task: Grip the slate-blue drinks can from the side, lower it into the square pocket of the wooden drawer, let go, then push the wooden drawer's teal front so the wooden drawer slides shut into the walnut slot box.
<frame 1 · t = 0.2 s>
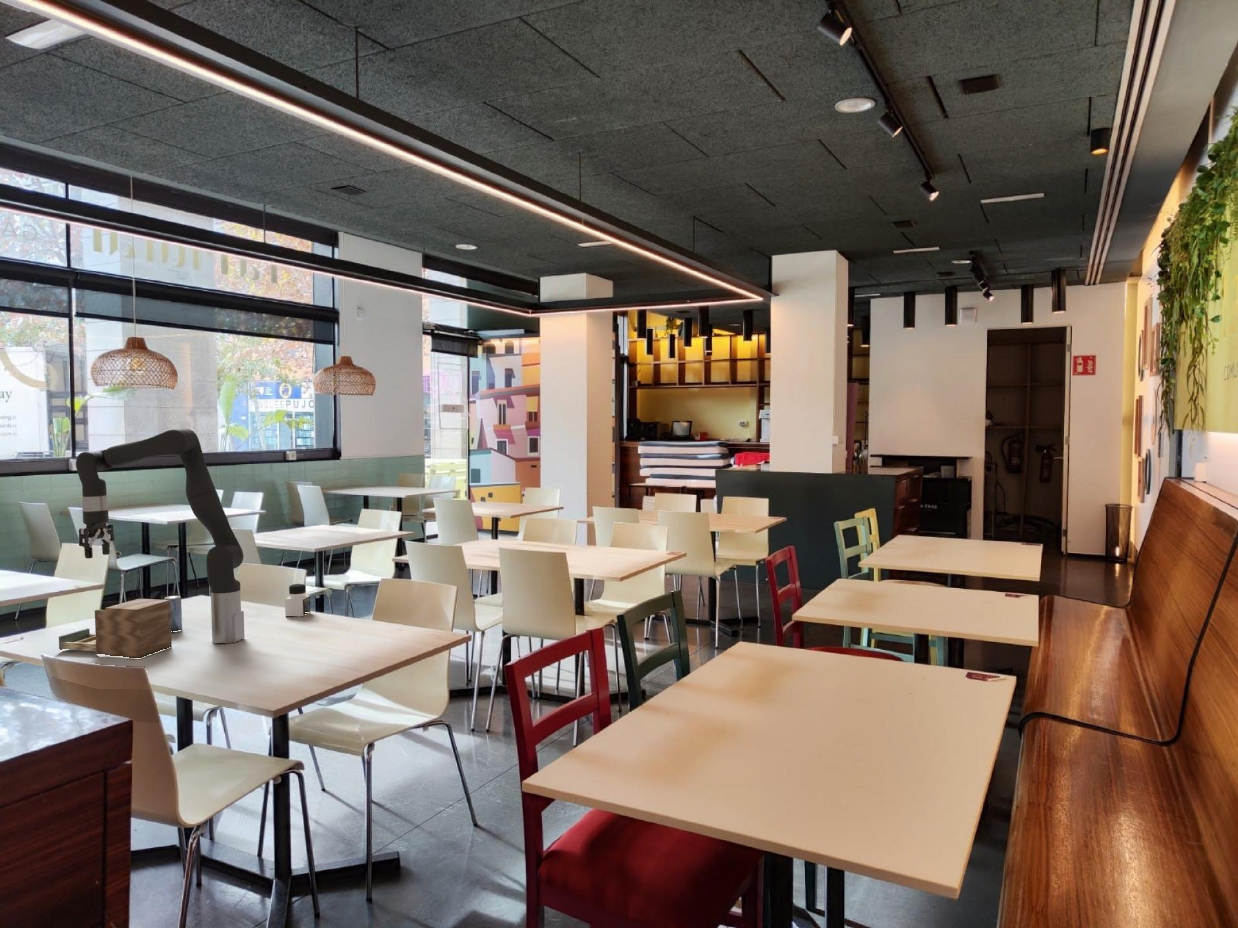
hand: (97, 556, 289), 29 cm above the table, tool pointing down, fingers open, 8 cm apart
medicine bottle: (298, 615, 326), on the table
walnut box: (134, 652, 275), on the table
can: (173, 631, 302), on the table
wooden drawer: (94, 641, 278), point 3 cm above the table, slide at 14.0 cm
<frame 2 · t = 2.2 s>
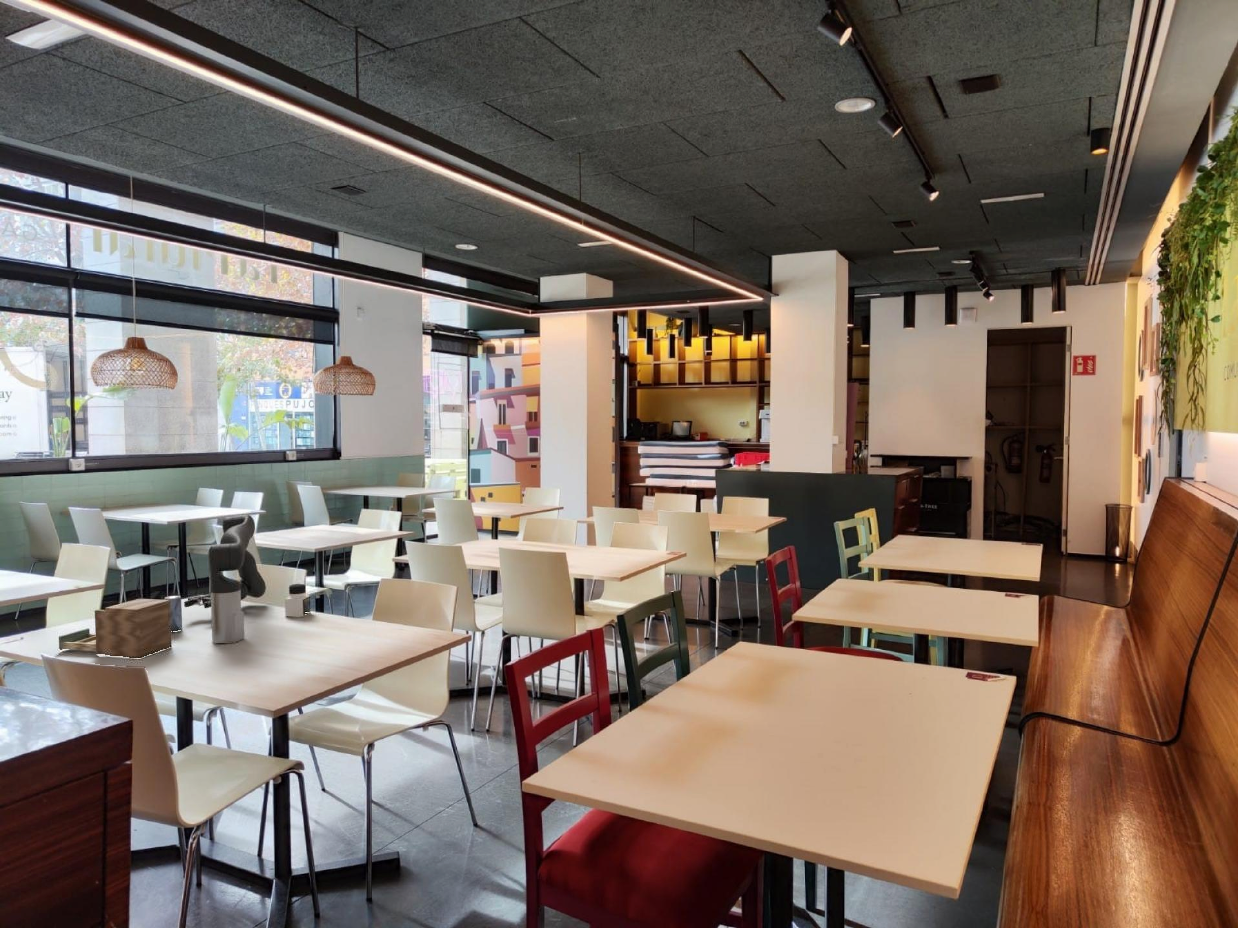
hand: (195, 604, 312), 7 cm above the table, tool horizontal, fingers open, 8 cm apart
nothing on the table moved.
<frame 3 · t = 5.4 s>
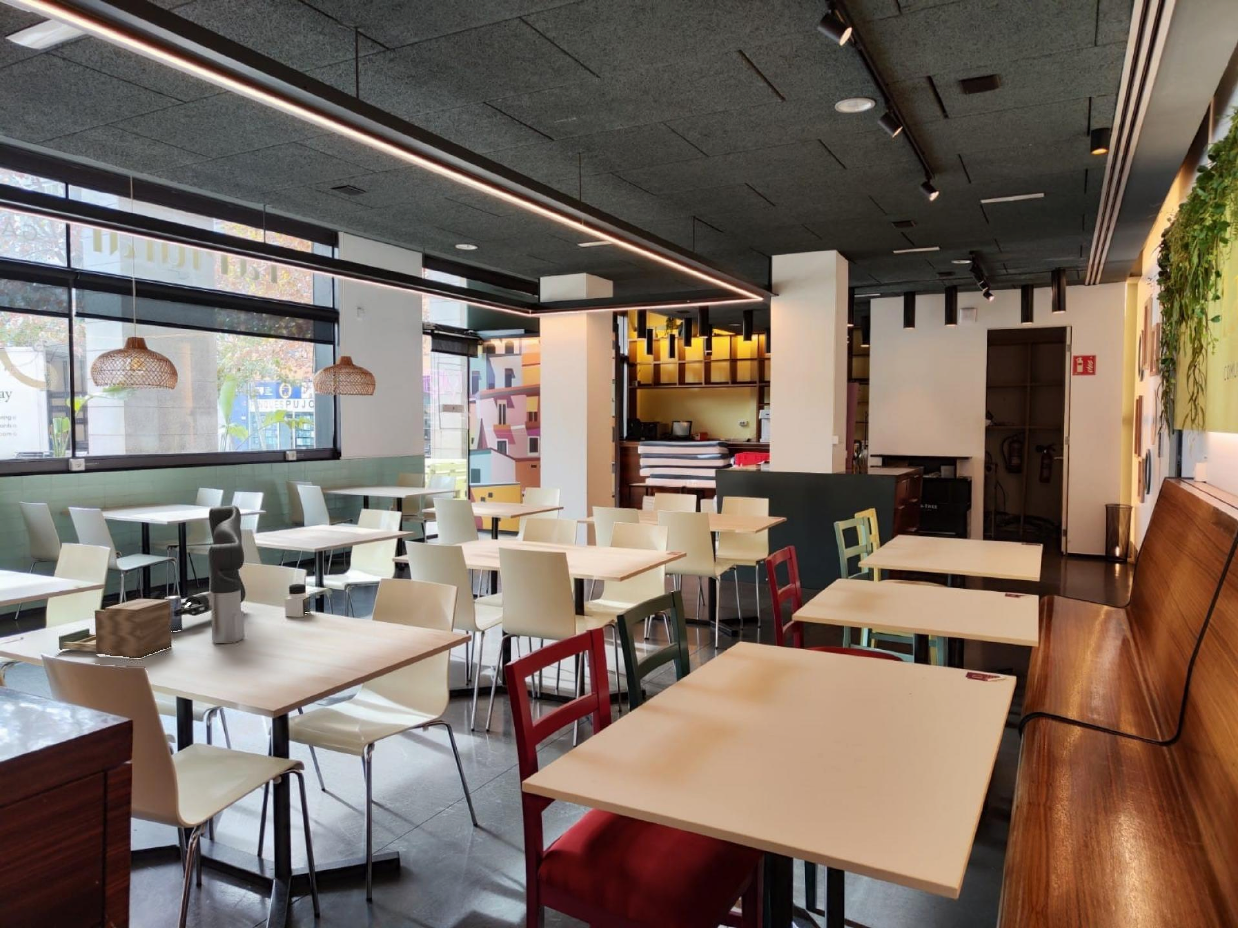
hand: (167, 613, 299), 7 cm above the table, tool horizontal, fingers closed on can, 5 cm apart
can: (173, 631, 302), on the table, touching gripper
everything else where it was.
when the fingers open (11 cm above the table, at t = 12.7 s): can drops 1 cm, resting on wooden drawer.
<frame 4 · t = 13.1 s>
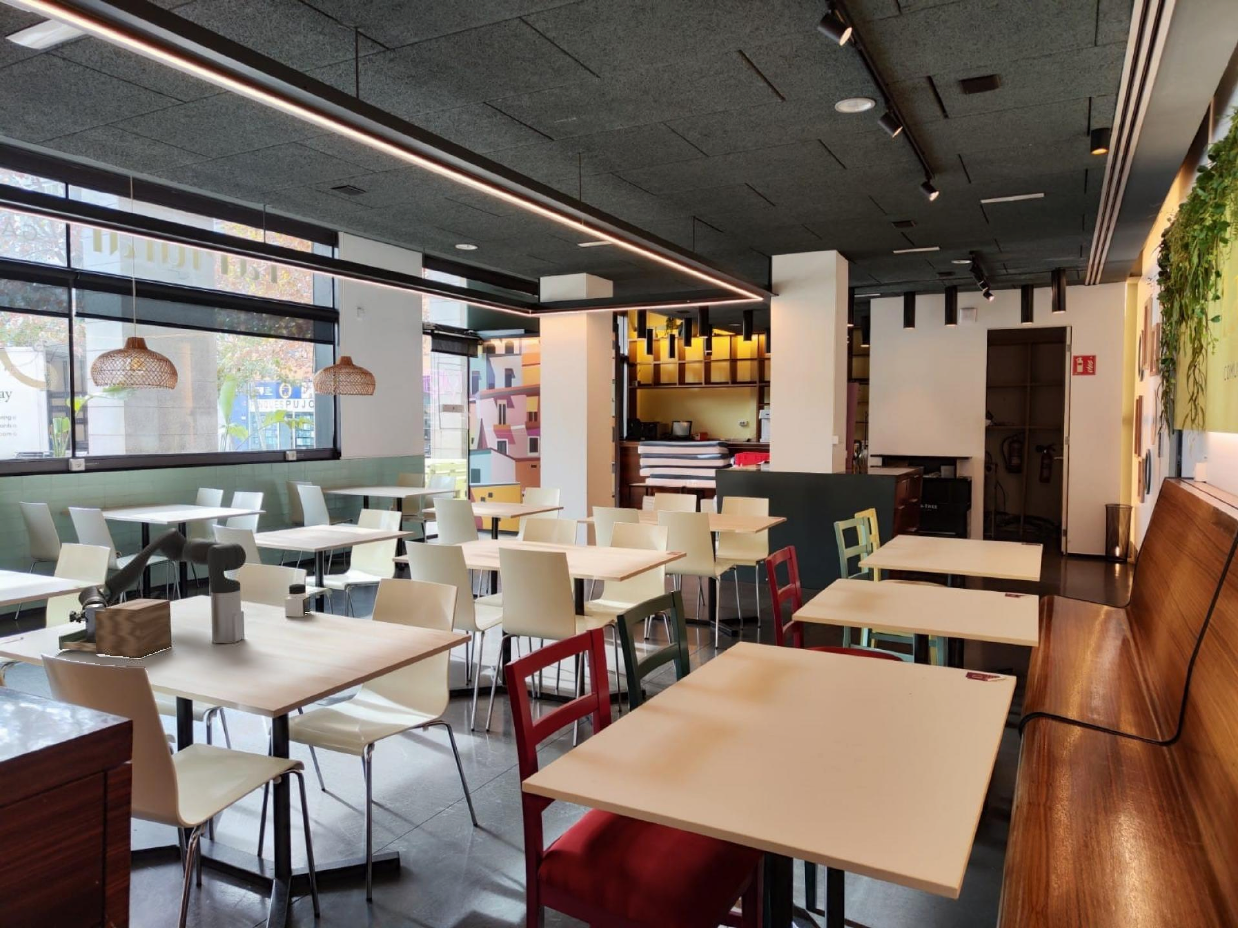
hand: (94, 618, 276), 11 cm above the table, tool horizontal, fingers open, 8 cm apart
can: (96, 642, 278), point 2 cm above the table, touching wooden drawer
wooden drawer: (94, 641, 278), point 3 cm above the table, slide at 14.0 cm, touching can
everything else where it was.
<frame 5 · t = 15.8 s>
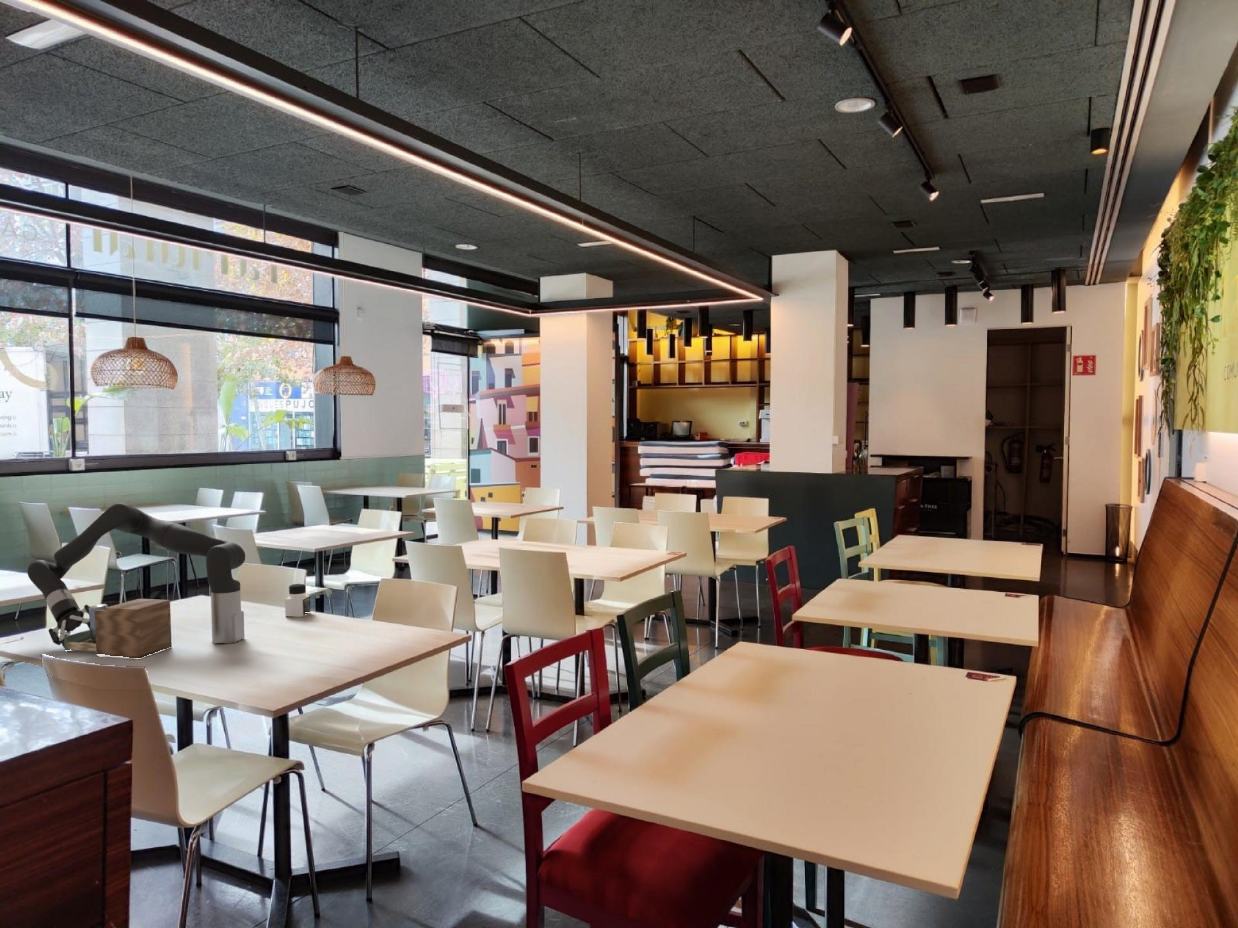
hand: (81, 640, 278), 3 cm above the table, tool tilted 50°, fingers open, 8 cm apart
can: (101, 642, 277), point 2 cm above the table, touching wooden drawer
wooden drawer: (99, 641, 277), point 3 cm above the table, slide at 11.9 cm, touching can
everything else where it was.
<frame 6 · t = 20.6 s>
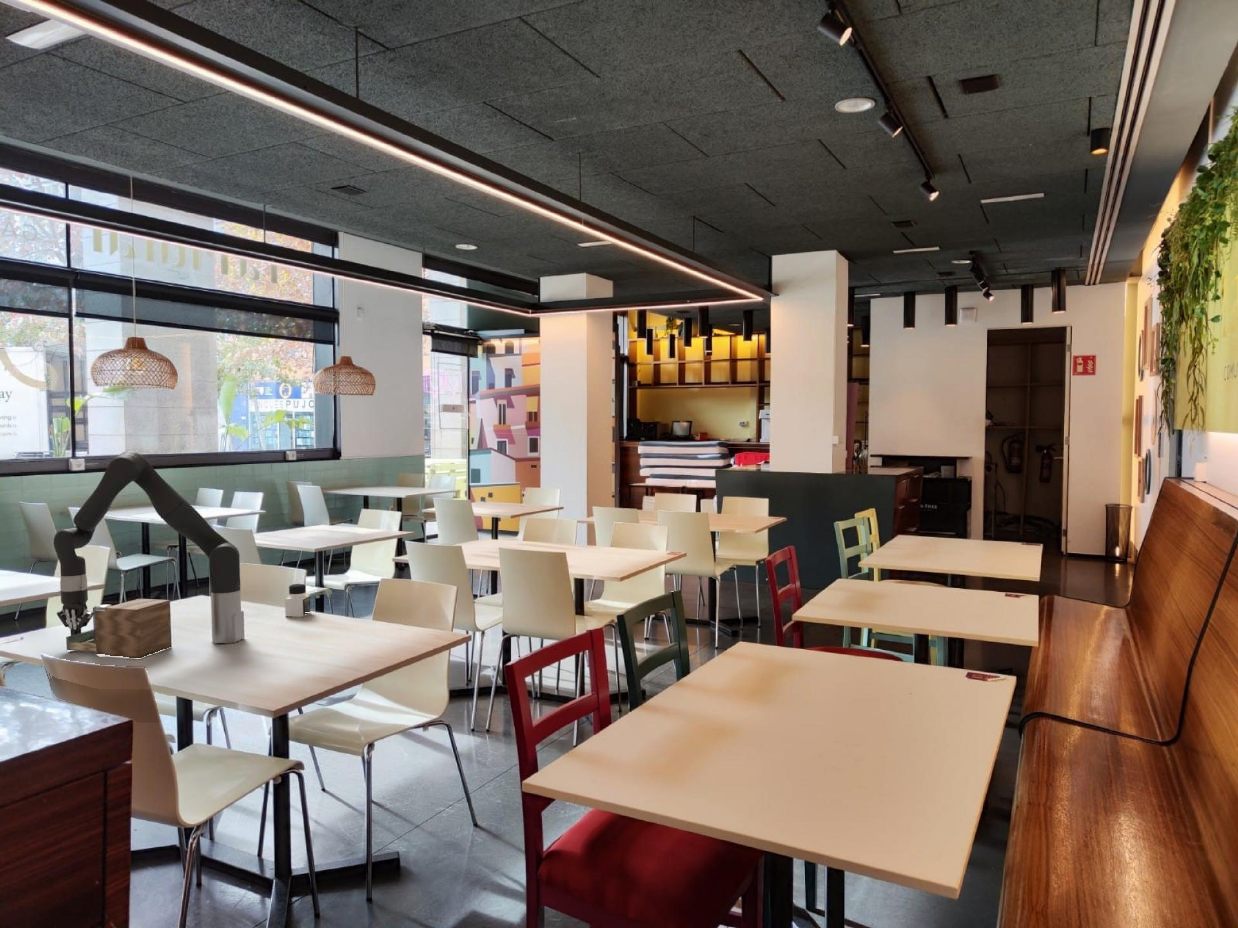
hand: (76, 639, 280), 3 cm above the table, tool pointing down, fingers closed
wooden drawer: (102, 641, 277), point 3 cm above the table, slide at 11.0 cm, touching can, gripper
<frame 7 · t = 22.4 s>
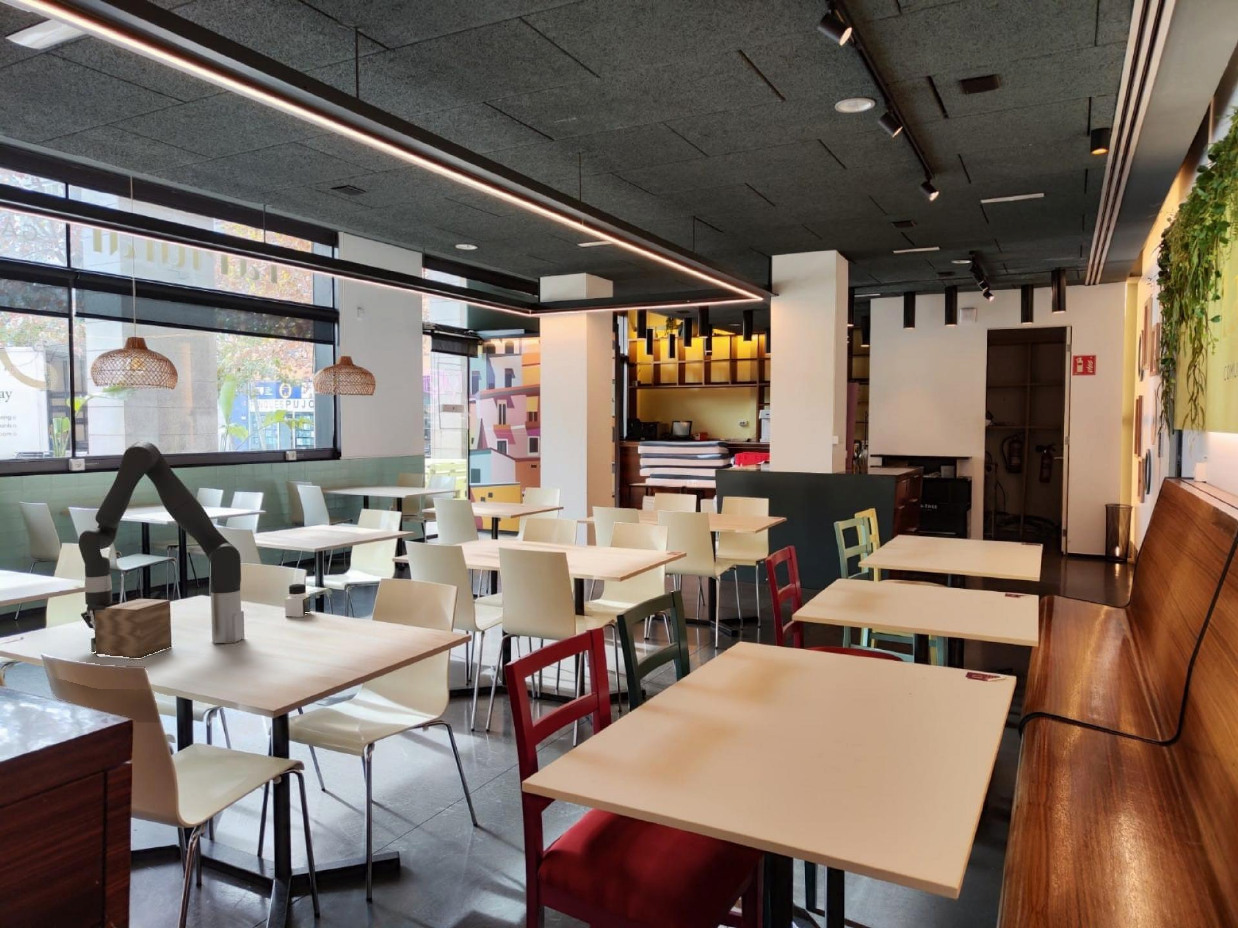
hand: (100, 640, 278), 3 cm above the table, tool pointing down, fingers closed
can: (128, 644, 275), point 2 cm above the table, touching wooden drawer
wooden drawer: (126, 643, 275), point 3 cm above the table, slide at 1.4 cm, touching can, gripper
everything else where it was.
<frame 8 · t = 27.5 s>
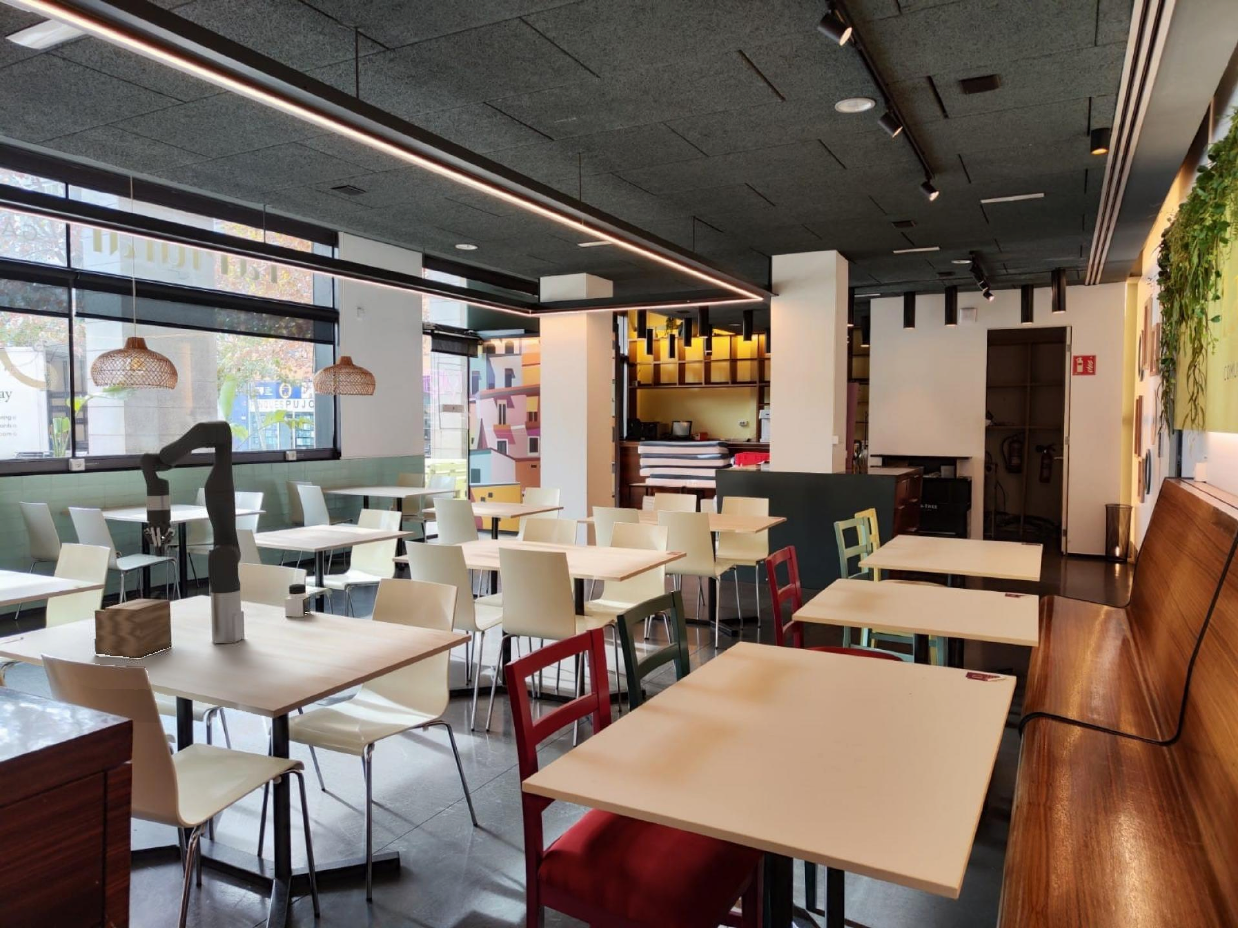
hand: (160, 556, 300), 27 cm above the table, tool pointing down, fingers closed
can: (132, 644, 275), point 2 cm above the table, touching wooden drawer
wooden drawer: (130, 643, 275), point 3 cm above the table, slide at 0.0 cm, touching can
everything else where it was.
at the end: wooden drawer slide at 0.0 cm; can inside the target area on the walnut box (0.3 cm from its centre), point 2.3 cm above the walnut box's base; can tilted 0° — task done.
